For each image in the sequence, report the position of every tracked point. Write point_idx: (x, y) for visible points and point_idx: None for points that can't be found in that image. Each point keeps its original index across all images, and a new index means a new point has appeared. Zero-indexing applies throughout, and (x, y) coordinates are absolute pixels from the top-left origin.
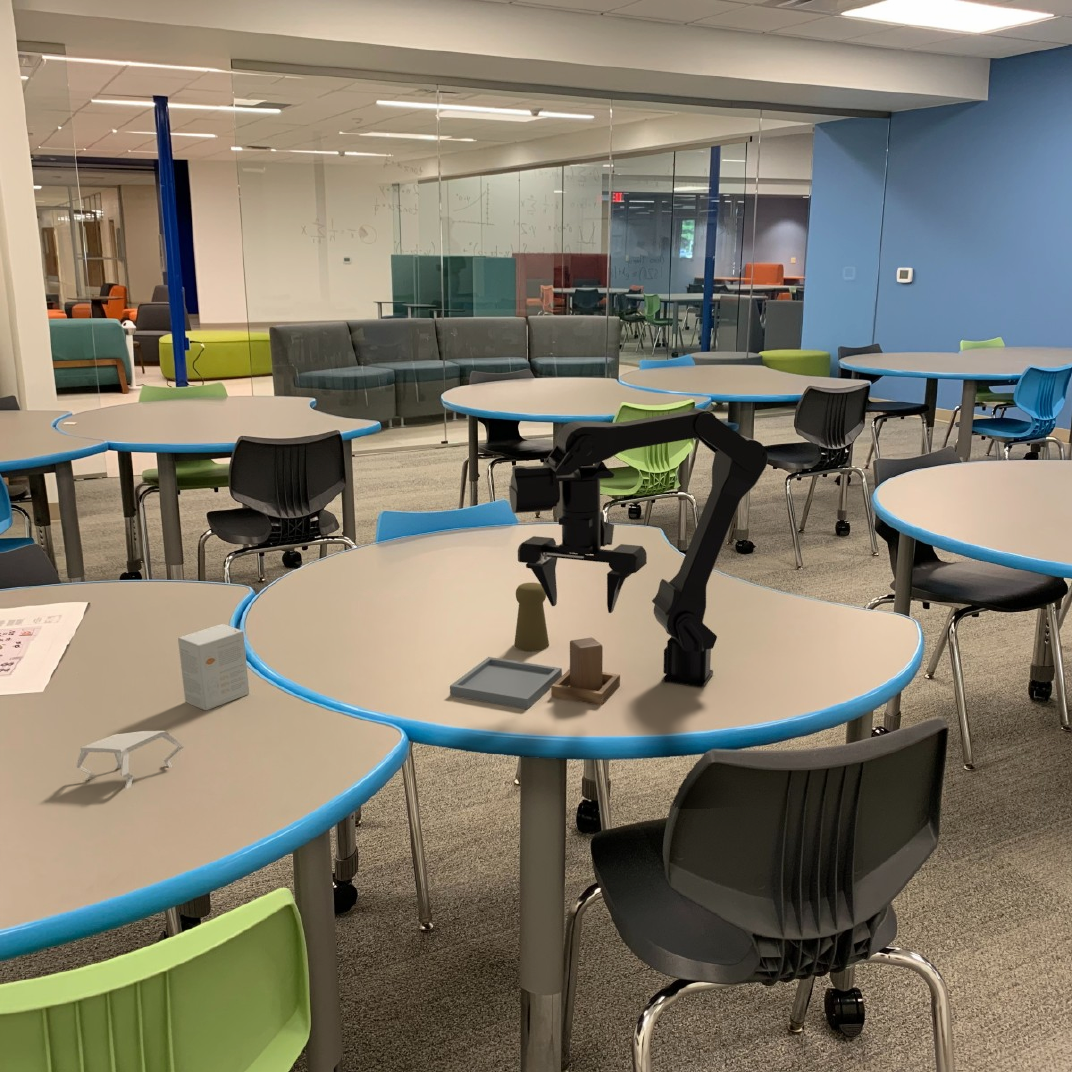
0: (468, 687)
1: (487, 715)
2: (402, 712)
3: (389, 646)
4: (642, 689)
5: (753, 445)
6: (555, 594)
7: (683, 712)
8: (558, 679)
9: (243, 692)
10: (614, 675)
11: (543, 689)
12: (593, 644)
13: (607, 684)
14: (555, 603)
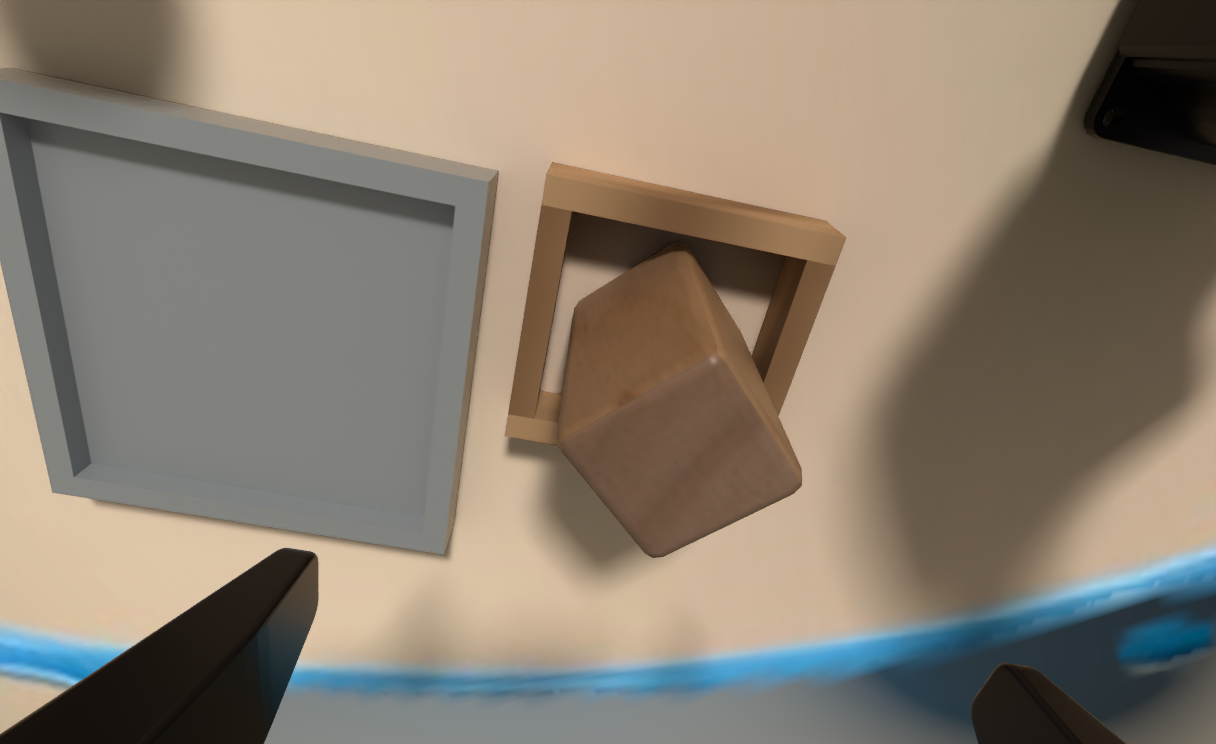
0: (141, 493)
1: (329, 585)
2: (26, 608)
3: None
4: (943, 247)
5: None
6: (246, 692)
7: (1091, 452)
8: (518, 360)
9: None
10: (814, 257)
11: (465, 402)
12: (741, 498)
13: (777, 375)
14: (310, 596)
